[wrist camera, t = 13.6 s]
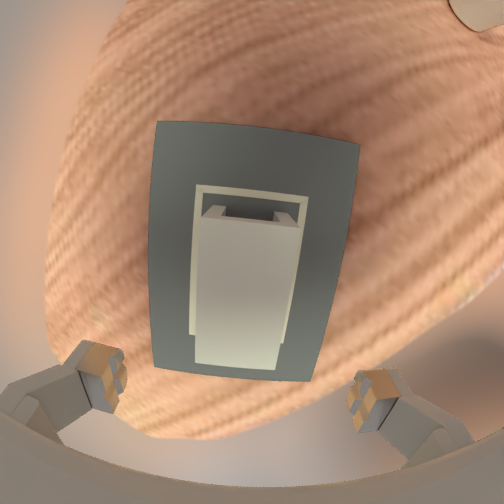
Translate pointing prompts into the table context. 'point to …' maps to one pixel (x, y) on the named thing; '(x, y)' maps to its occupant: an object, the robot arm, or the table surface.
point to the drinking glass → (479, 13)
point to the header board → (250, 207)
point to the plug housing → (243, 288)
